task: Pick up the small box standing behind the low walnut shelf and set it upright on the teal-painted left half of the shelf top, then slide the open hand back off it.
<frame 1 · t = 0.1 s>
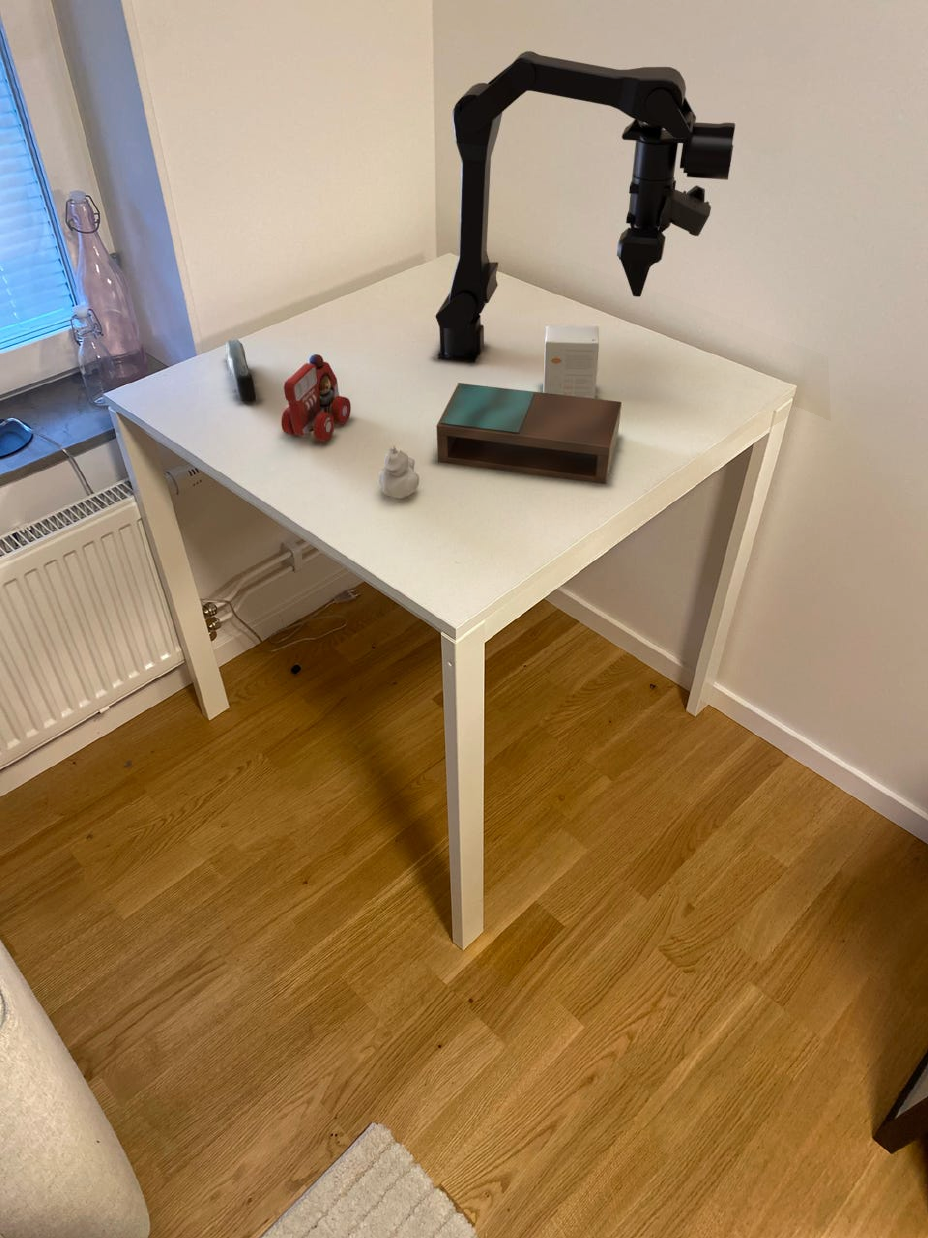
hand: (640, 282, 141), 15 cm above the table, tool pointing down, fingers open, 9 cm apart
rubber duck: (401, 492, 128), on the table
small box: (568, 397, 146), on the table
shelf: (529, 449, 135), on the table
toy fire truck: (318, 427, 140), on the table
mobile phone: (242, 382, 151), on the table
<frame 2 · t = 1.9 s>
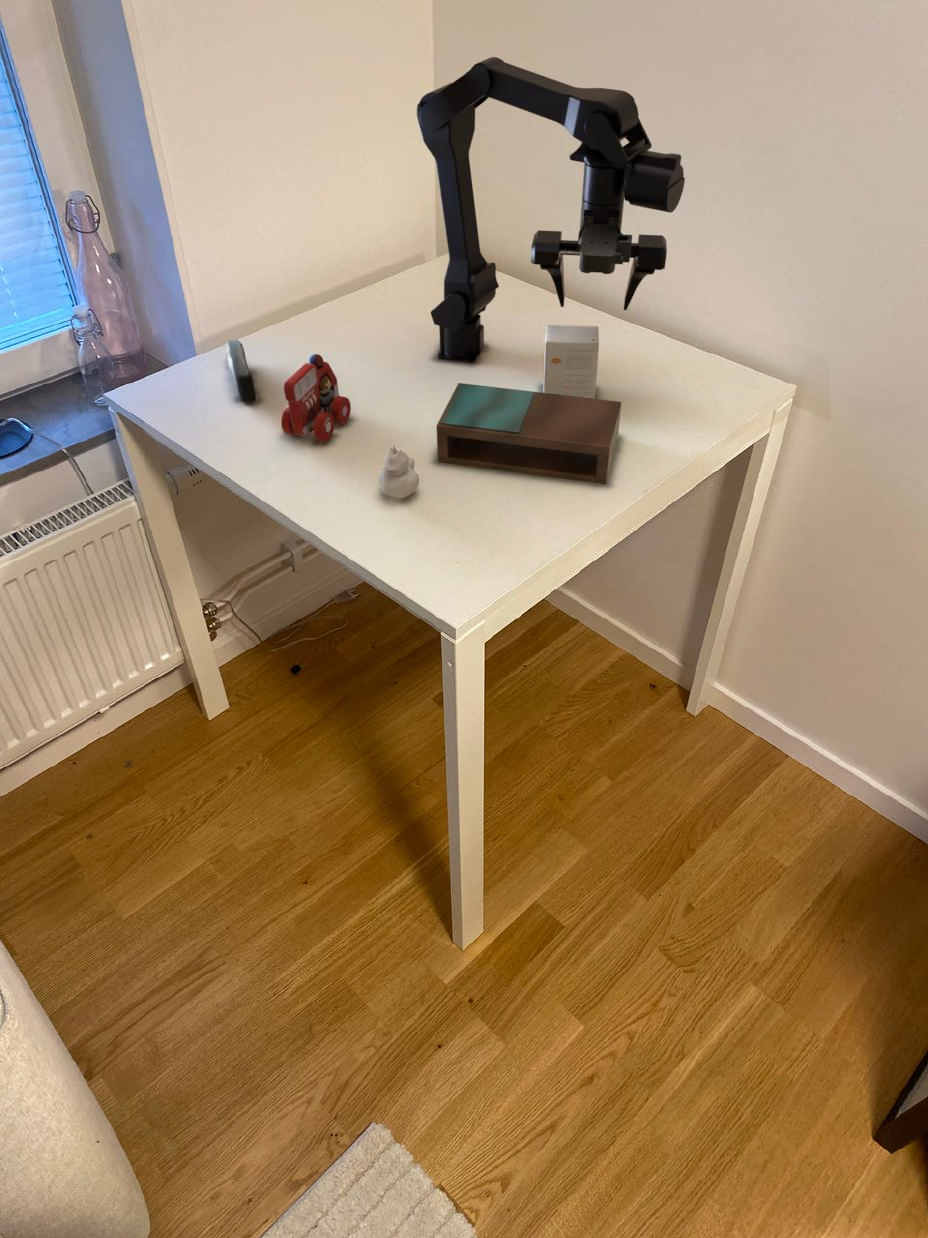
hand: (593, 307, 138), 13 cm above the table, tool pointing down, fingers open, 9 cm apart
nothing on the table moved.
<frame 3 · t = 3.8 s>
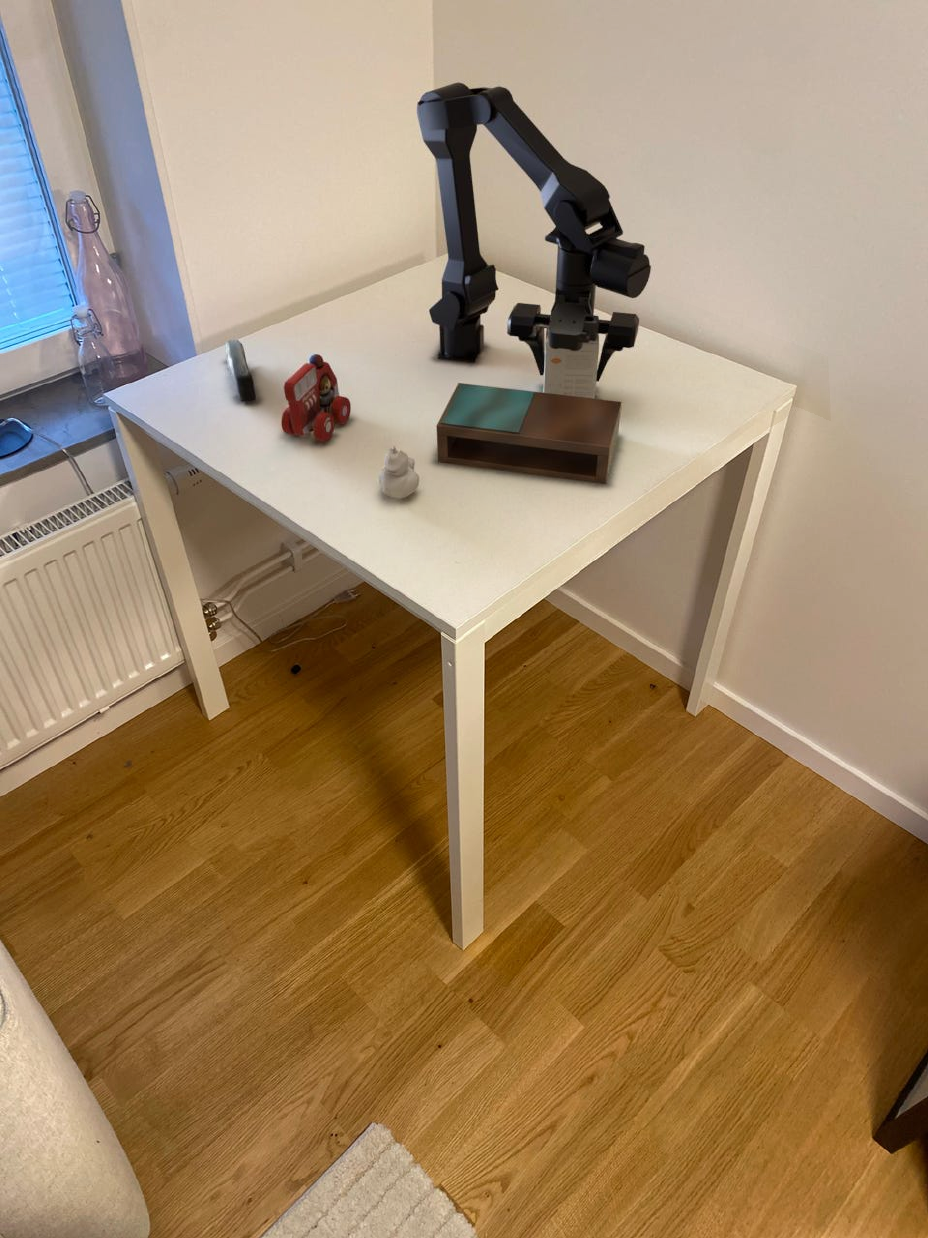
hand: (569, 377, 143), 3 cm above the table, tool pointing down, fingers closed on small box, 8 cm apart
small box: (568, 397, 146), on the table, touching gripper
everything else where it was.
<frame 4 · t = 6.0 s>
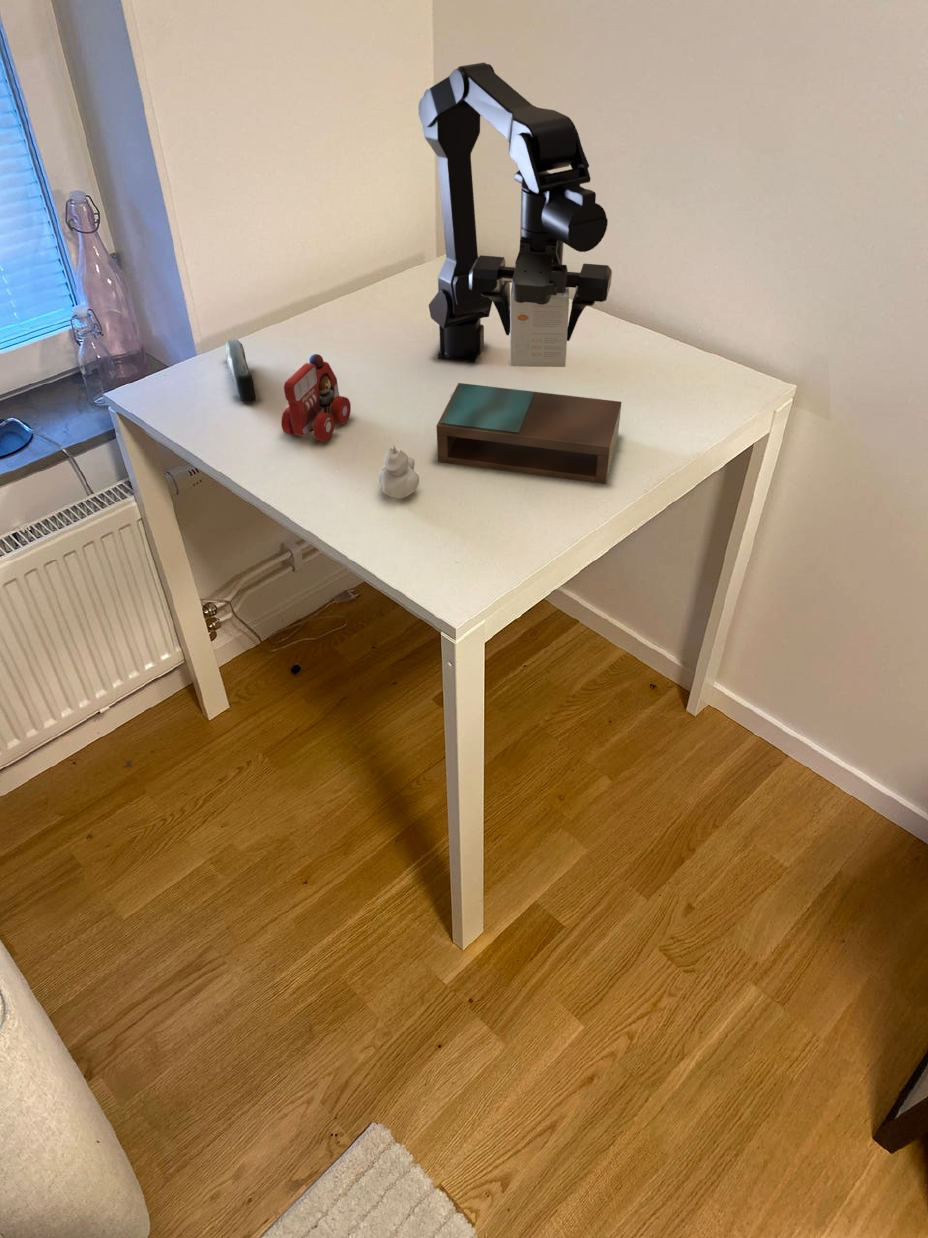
hand: (537, 336, 132), 13 cm above the table, tool pointing down, fingers closed on small box, 8 cm apart
small box: (537, 359, 135), point 10 cm above the table, touching gripper
everything else where it was.
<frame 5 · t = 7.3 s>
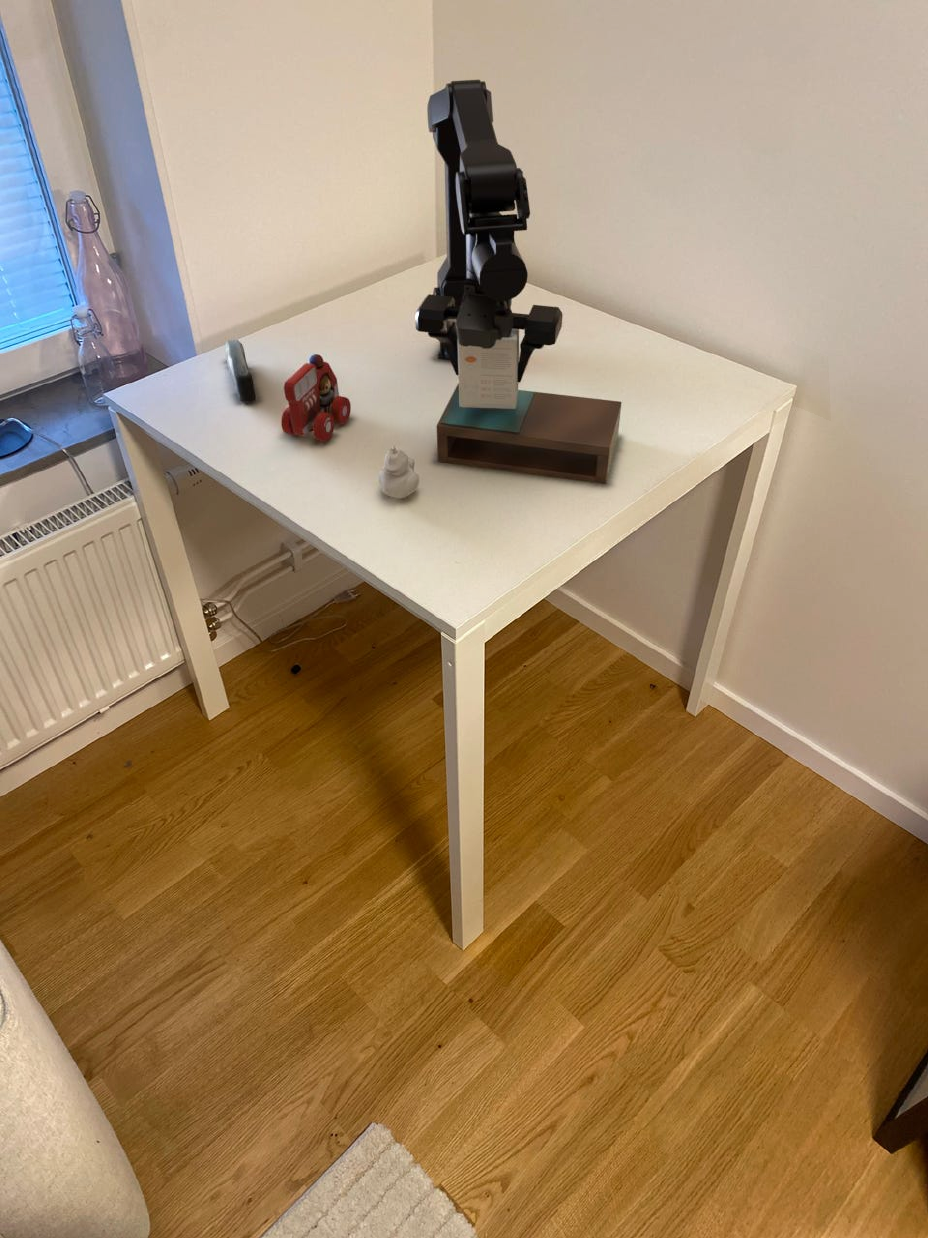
hand: (488, 377, 129), 11 cm above the table, tool pointing down, fingers closed on small box, 8 cm apart
small box: (489, 399, 131), point 7 cm above the table, touching gripper
everything else where it was.
when the fingers open (10 cm above the table, at t = 8.4 s): small box stays where it is, resting on shelf.
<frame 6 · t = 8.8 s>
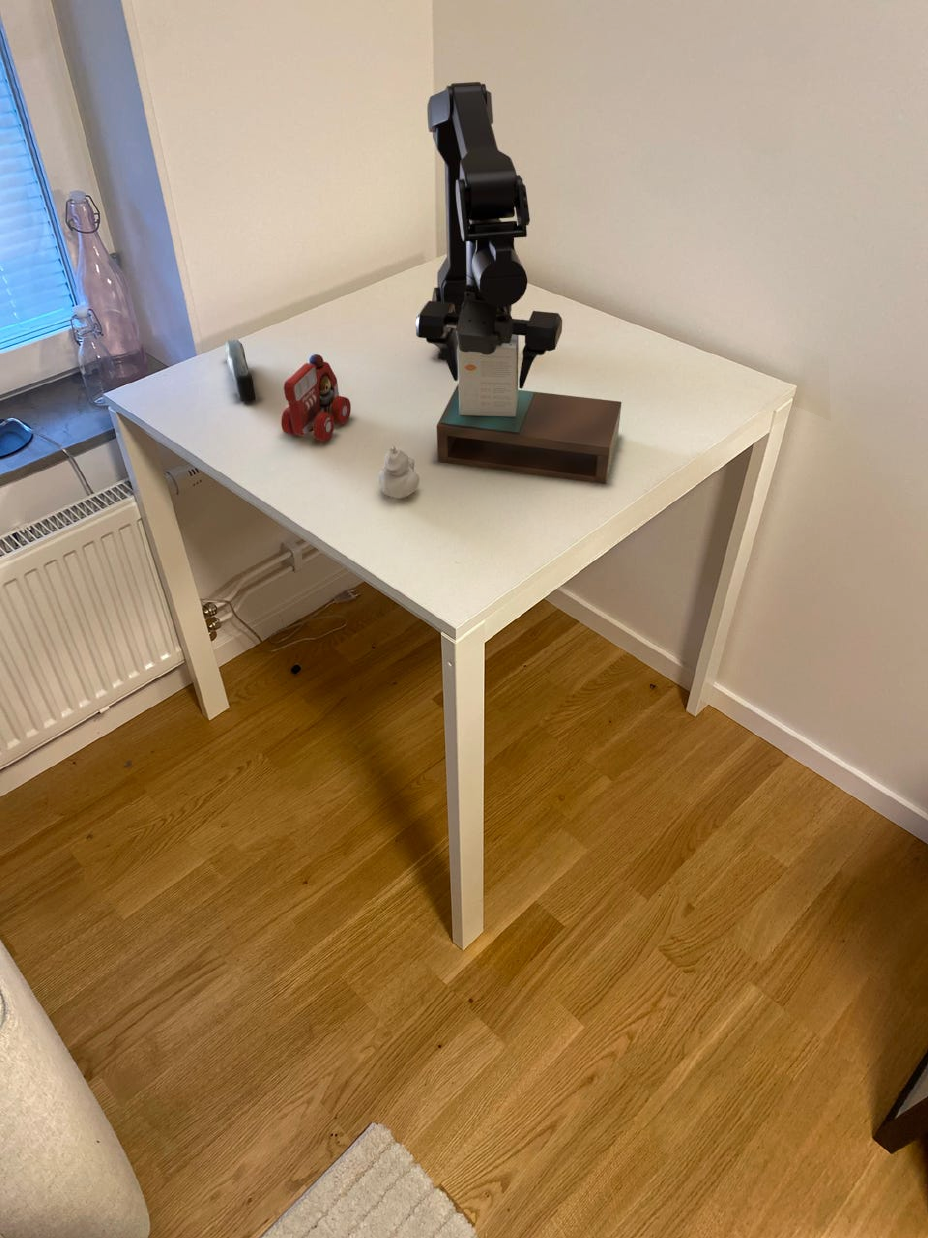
hand: (488, 383, 129), 10 cm above the table, tool pointing down, fingers open, 9 cm apart
small box: (488, 407, 132), point 6 cm above the table, touching shelf
everything else where it was.
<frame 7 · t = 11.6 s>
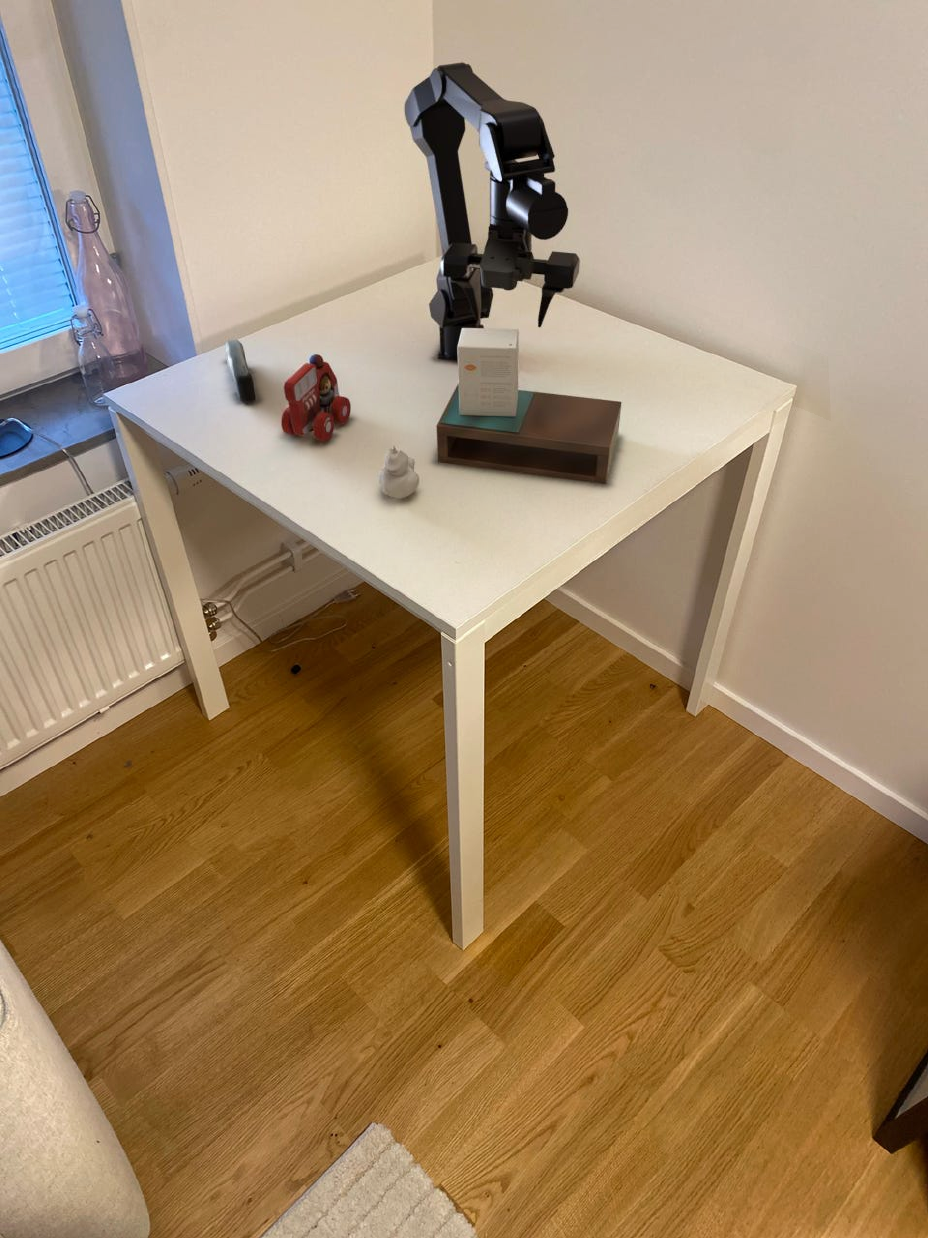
hand: (508, 322, 136), 13 cm above the table, tool pointing down, fingers open, 9 cm apart
nothing on the table moved.
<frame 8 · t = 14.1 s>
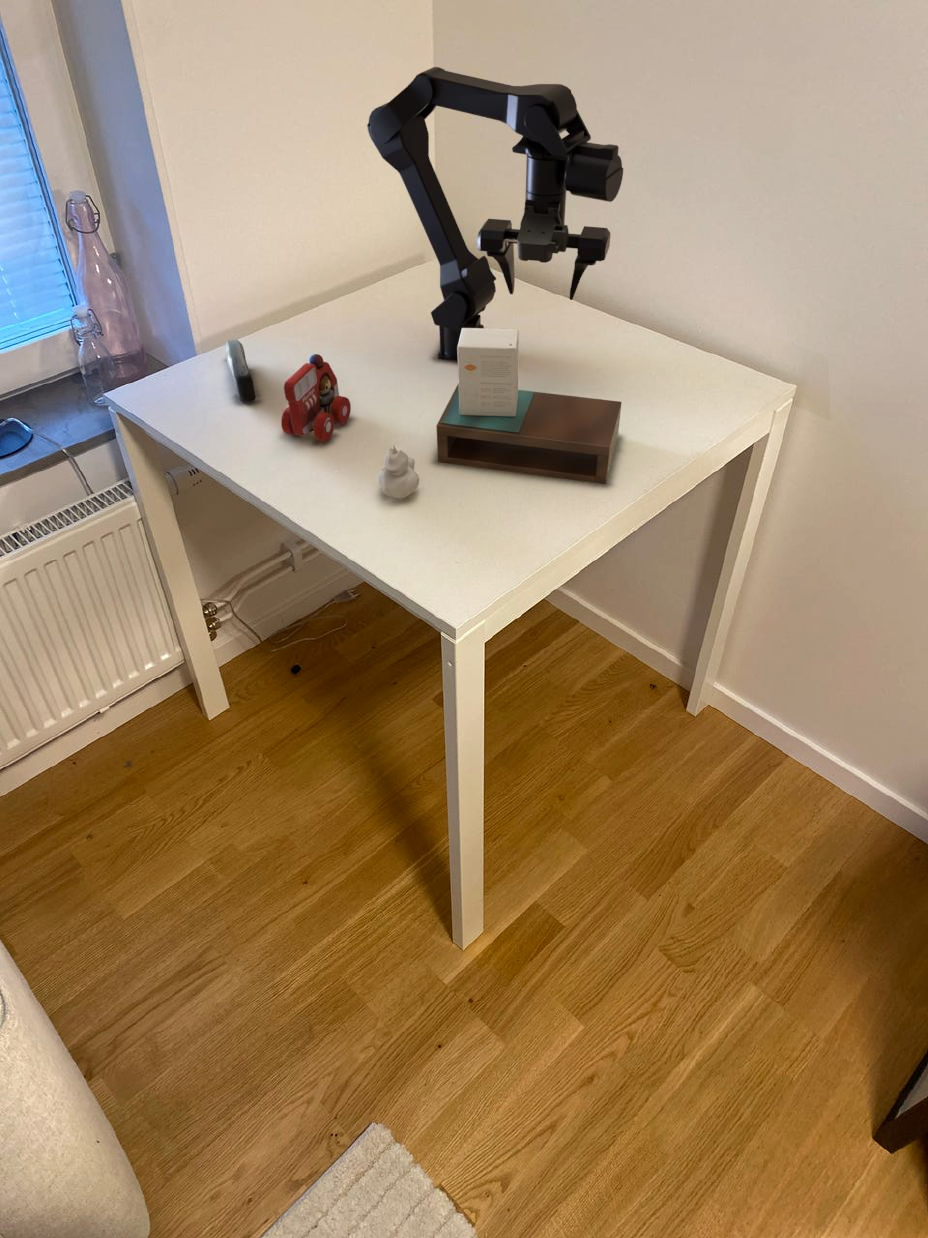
hand: (541, 295, 142), 13 cm above the table, tool pointing down, fingers open, 9 cm apart
nothing on the table moved.
at the end: small box inside the target area (0.3 cm from its centre), point 6.0 cm above the table; small box tilted 0° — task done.
